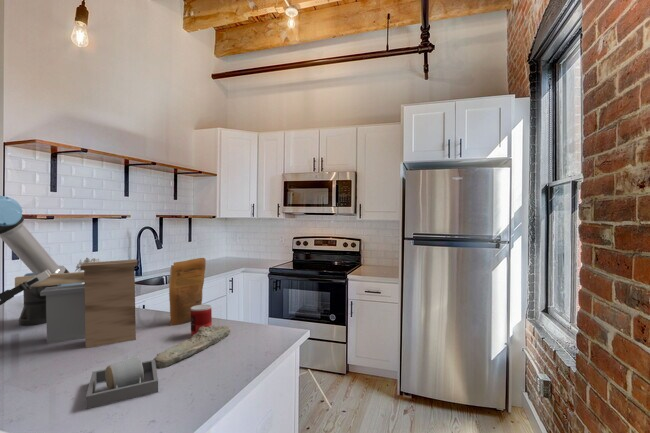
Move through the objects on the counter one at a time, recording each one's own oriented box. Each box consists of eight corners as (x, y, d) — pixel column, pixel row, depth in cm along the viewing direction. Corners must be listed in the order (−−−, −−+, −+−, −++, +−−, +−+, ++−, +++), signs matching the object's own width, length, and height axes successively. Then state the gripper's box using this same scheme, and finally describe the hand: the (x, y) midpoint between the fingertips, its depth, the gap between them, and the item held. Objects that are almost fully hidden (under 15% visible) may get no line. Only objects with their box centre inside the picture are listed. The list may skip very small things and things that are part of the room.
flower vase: (82, 307, 186) (81, 260, 186) (71, 302, 197) (71, 258, 197) (109, 302, 196) (108, 258, 196) (97, 297, 207) (97, 256, 207)
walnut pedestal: (85, 340, 134) (84, 262, 134) (138, 331, 142) (137, 259, 142) (82, 349, 124) (80, 266, 124) (138, 339, 133) (137, 262, 133)
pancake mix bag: (211, 317, 162) (209, 257, 162) (172, 328, 146) (171, 262, 146) (202, 314, 166) (201, 256, 166) (164, 325, 150) (163, 261, 150)
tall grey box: (47, 337, 138) (46, 287, 138) (106, 328, 147) (105, 281, 147) (41, 345, 129) (40, 291, 129) (104, 335, 139) (103, 285, 139)
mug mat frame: (92, 382, 99) (92, 371, 99) (155, 369, 106) (154, 359, 106) (86, 409, 85) (85, 396, 85) (158, 391, 92) (158, 380, 92)
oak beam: (18, 286, 132) (18, 273, 132) (110, 278, 147) (110, 266, 147) (13, 289, 127) (13, 275, 127) (109, 280, 141) (109, 268, 141)
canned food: (215, 331, 140) (215, 305, 140) (202, 338, 133) (202, 310, 133) (200, 330, 143) (199, 303, 143) (186, 336, 135) (186, 308, 135)
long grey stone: (144, 370, 109) (168, 376, 106) (144, 354, 109) (168, 360, 105) (216, 329, 142) (236, 333, 138) (216, 317, 141) (236, 320, 138)
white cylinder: (104, 388, 95) (103, 360, 95) (136, 377, 101) (136, 351, 101) (114, 403, 87) (113, 373, 87) (148, 391, 93) (148, 362, 93)
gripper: (-7, 313, 132) (58, 277, 142) (-24, 324, 118) (50, 284, 128) (-21, 298, 130) (47, 262, 140) (-39, 307, 116) (37, 267, 126)
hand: (48, 273), depth 134 cm, fingers closed on oak beam, 3 cm apart
